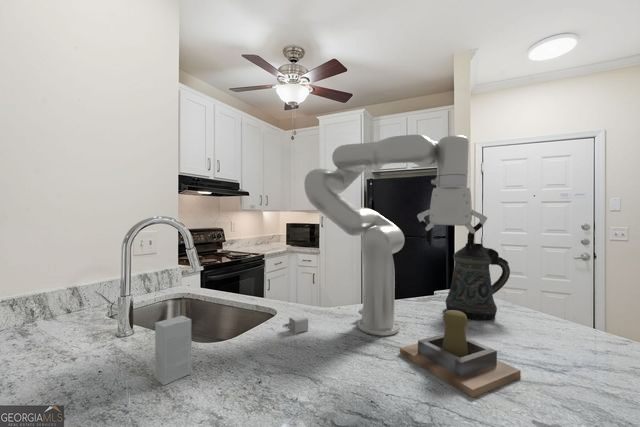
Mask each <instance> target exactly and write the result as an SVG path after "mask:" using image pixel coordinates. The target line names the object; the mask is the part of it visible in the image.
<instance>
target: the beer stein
mask: <svg viewBox="0 0 640 427" xmlns="http://www.w3.org/2000/svg"><path fill="white" fill-rule="evenodd" d="M453 260H454V267H453V273H452V279H451V283H450V288H449V291H448V294H447V297H446V298H445V306H446V311H448V310H457V311H461V312H463V313H464V314H465V315H466V316H467V320H469V321H476V322H488V321H493V320H495V319H496V315H497V310H498V307H497V305H496V303H495V300H494V297H493V295H495V294H496V293H497V292H499V291H500V290H501V289H502V288H503V287H504V286H505V285H506V284H507V282H508V280H509V279H510V275H511V269H510V265H509V262H508V261H507V260H506V259H504V258H502V257H500V256H499V252H498V251H496V250H495V249H494V248H491V247H485V246H483V243H476V242H474V246H471V249H468V248H467V243H465V246H463V247H462V248H460V249H458V250H457V251H456V252H454V254H453ZM490 265H491V266H499V267H500V268H501V270H502V271H501V274H500V277H499V278H498V279H497V280H496V281H495V282H493V284H492V277H491V272H490V271H491V270H490Z"/></svg>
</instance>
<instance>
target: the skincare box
mask: <svg viewBox="0 0 640 427" xmlns="http://www.w3.org/2000/svg"><path fill="white" fill-rule="evenodd" d="M154 332H155V333H154V337H155V339H154V342H155V343H154V344H155V346H154V350H155V351H154V352H155V354H154V355H155V357H154V358H155V362H154V363H155V365H154V366H155V379H156V380H157V381H158V382H159V383H160V384H162V386H165V385H167V384H170V383H172V382H175V381H177V380H179V379H182V378H184V377H186V376H188V375H191V374H192V318H189V317H187V316H184V315H180V316H179V315H178V316H176V317H172V318H167V319H164V320H160V321H156V322H154Z"/></svg>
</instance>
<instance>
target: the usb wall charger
mask: <svg viewBox="0 0 640 427" xmlns="http://www.w3.org/2000/svg"><path fill="white" fill-rule="evenodd" d="M282 328H285V329H286V330H289V331H290V332H291V333H293V334H295V335H297V334H300V333H304V332H307V331H309V318H308V317H307V316H305V315H304V314H301V315H296V316H295V315H294V316H290V317H289V319H288V322H287V323H285V324H282Z"/></svg>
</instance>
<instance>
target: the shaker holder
mask: <svg viewBox="0 0 640 427" xmlns="http://www.w3.org/2000/svg"><path fill="white" fill-rule="evenodd" d="M443 339H444V333H442V334H438V335H435V336H431V337H430V336H429V337H426V338H423V339H418V340H417V343H413V344H410V345H405V346H403V347H400V348H399V354H400V355H401V356H403V357H404V358H406V359H408V360H410V361H411V362H412V363H415V364H416V365H418V366H419V367H421V368H423V369H425V370H426V371H428V372H430V373H431V374H433V375H434V376H436V377H438V378H439V379H441V380H443V381H445V382H446V383H448V384H449V385H452V386H453V387H454V388H456V389H458V390H459V391H461V392H463V393H465V394H466V395H468V396H469V397H471V398H475V397H477V396H480V395H483V394H484V393H487V392H490V391H491V390H492V391H493V389H496V388H499V387H501V386H503V385H506V384H508V383H510V382H512V381H515V380H517V379H520V378H521V375H522V374H521V371H522V370H521V369H520V368H516V367H514V366H512V365H510V364H507V363H505V362H503V361H501V360H498V357H497V356H498V351H497V350H496V349H493V348H491V347H490V346H489V347H488V346H486V345H484V344H482V343H479V342H477V341H474V340H472V339H470V338H467V337H466V341H467V348H468V355H467V356H464V357H461V358H459V357H457V356H455V355H453V354H451V353H449V352H447V351H445V350H443V349H442V346H443Z"/></svg>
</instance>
